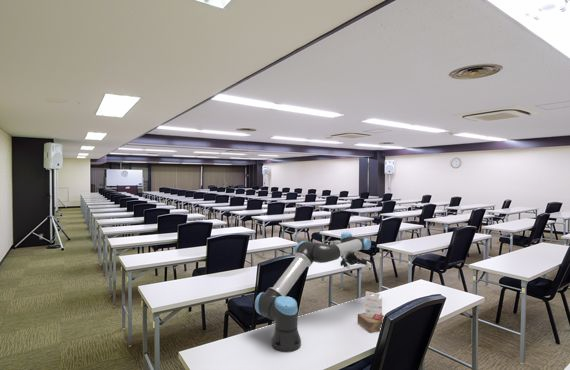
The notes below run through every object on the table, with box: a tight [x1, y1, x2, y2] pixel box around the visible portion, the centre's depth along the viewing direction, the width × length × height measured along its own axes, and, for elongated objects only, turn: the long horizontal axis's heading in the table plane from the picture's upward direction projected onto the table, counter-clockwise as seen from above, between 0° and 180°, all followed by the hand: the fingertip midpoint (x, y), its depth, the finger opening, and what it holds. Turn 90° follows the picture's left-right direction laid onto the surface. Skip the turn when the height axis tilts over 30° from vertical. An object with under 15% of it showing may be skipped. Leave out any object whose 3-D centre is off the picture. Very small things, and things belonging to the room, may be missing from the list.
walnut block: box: [357, 312, 384, 334], centre depth 186 cm, size 13×13×6 cm
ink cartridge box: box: [364, 290, 383, 320], centre depth 186 cm, size 9×5×15 cm, turn 55°
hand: (360, 266), depth 197 cm, fingers open, 13 cm apart
